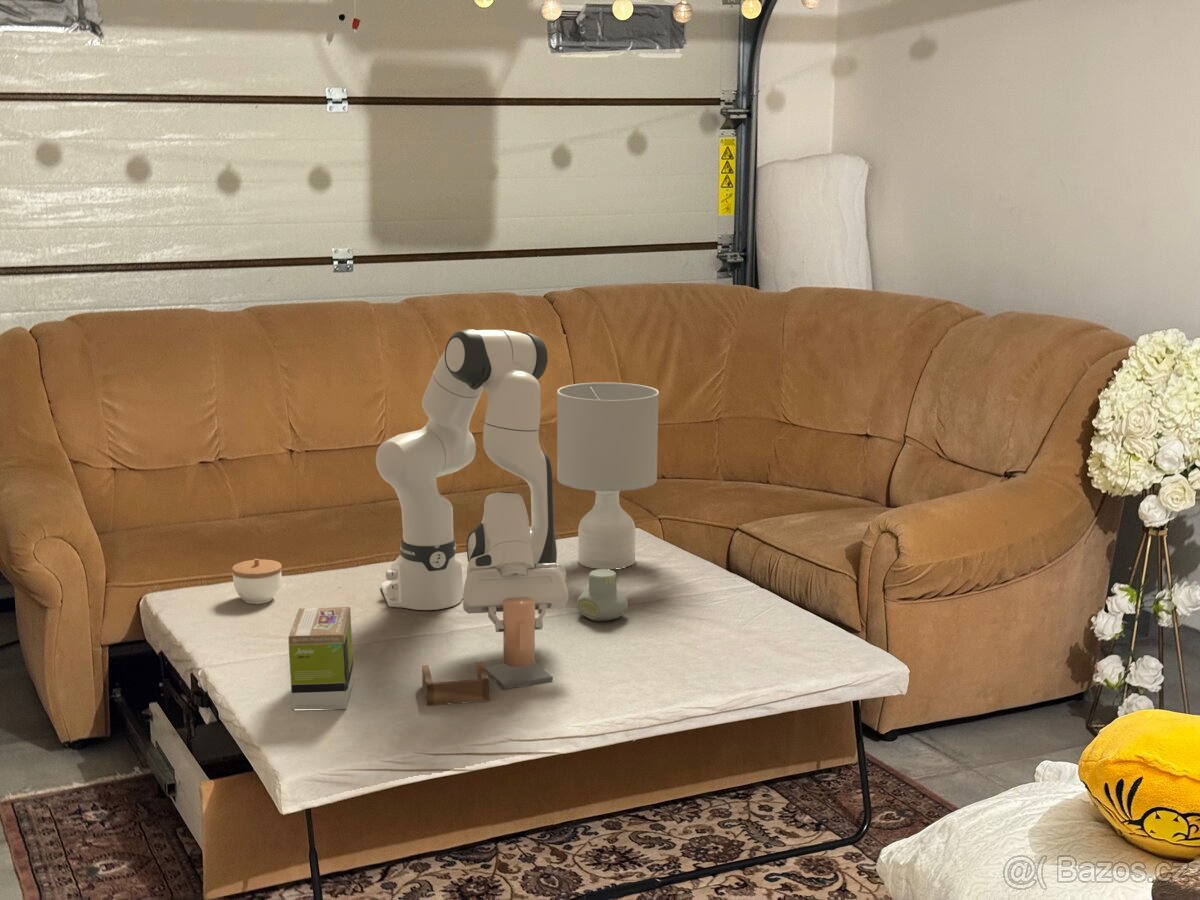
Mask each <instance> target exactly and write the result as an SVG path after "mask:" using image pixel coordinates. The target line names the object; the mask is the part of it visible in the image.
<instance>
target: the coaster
mask: <svg viewBox="0 0 1200 900" xmlns="http://www.w3.org/2000/svg"><path fill="white" fill-rule="evenodd" d="M485 669H486V672H487V675H488V677H489V678H491V679H492V678H493V679H494V680H495V681H496V683H497V684H498V685H499V686H500V688H502V687H503V688H504V689H503V688H502V689H503V690H508V689H507V688H509V689H514V688H519V687H525V686H531V685H534V684H535V683H536V684H541V682H542V683H546V682H545V681H547V682H551V681H552V680H553V679H554V677H553V675H552V674H550V673H549V672H548V671H547V670H545V669H544V668H543V667H541V666H540V665H539V664H538V663H537V662H534V663H533V664H532V665H529V666H525V667H512V666H508V665H506V664H504V663H500V664H496V665H495V664H494V665H491V666H490V665H489V666H485ZM493 679H492V680H493ZM494 680H493V681H494ZM495 681H494V682H495ZM552 682H553V681H552ZM536 684H535V685H536ZM524 685H525V686H524Z"/></svg>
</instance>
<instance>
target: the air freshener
mask: <svg viewBox="0 0 1200 900" xmlns="http://www.w3.org/2000/svg"><path fill="white" fill-rule="evenodd" d="M576 604H577V605H576V607H577V609H578V611H579V613H580V614H581V615H583V616H585V617H586V618H588V619H589V620H590V621H592V622H593V621H594V622H605V621H606V622H607V621H608V622H609V621H612V620H615V619H617V618H621V616H622V615H624V614H625V612H626V611H627V609H628V606H629V603H628V599H627V597H626V596H625V594H623V592H621V591H620V590H617V573H616V572H615V570H608V569H594V570H591V571H590V572H589V573H588V589H587V590H585V591H583V592H582V593H581V594H580V595H579V596H578V598H577V601H576Z"/></svg>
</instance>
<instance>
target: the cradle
mask: <svg viewBox="0 0 1200 900" xmlns="http://www.w3.org/2000/svg"><path fill="white" fill-rule="evenodd" d="M475 663H476V665H475V666H476V679H475V678H474V679H462V680H461V679H460V680H449V681H448V680H447V681H445V680H444V681H433V677H432V673H431V668H430V666H429V664H425V665H424V664H423V665H421V668H422V669H421V673H422V678H421V679H422V680H421V681H422V688H423V693H424V694H423V695H424V697H425V701H426V702H427V703H426V702H425V703H426V706H427V705H428V706H439V705H438V704H441V705H449V704H448V703H455V704H464V703H463V702H468V703H475V702H474V701H482V702H489V701H488V700H490V699H491V698H490V696H491V695H490V693H491V692H490V677H489V675H488V674H487V672H486V669H485V667H486V666H485V664H484V661H483V660H482V661H481V660H480V661H476V662H475Z"/></svg>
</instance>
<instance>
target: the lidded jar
mask: <svg viewBox="0 0 1200 900" xmlns="http://www.w3.org/2000/svg"><path fill="white" fill-rule="evenodd" d="M282 569H283V566H282V563H280V562H279V561H277V560H272V559H264V558H263V559H261V558H260V559H259V558H254V559H251V560H244V561H241V562H238V563H236V564H234V565H233V566H232V567H231V573H232V581H233V586H234V589H235V592H236V593H237V595H238V596H239V597H240V598H241V599H243V601H244V603H247V604H251V605H261V604H266V603H269V602H271V601H273V599H274V597H275V596H276V595H277V594H278V592H279V591H280V588H281V584H282Z"/></svg>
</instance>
